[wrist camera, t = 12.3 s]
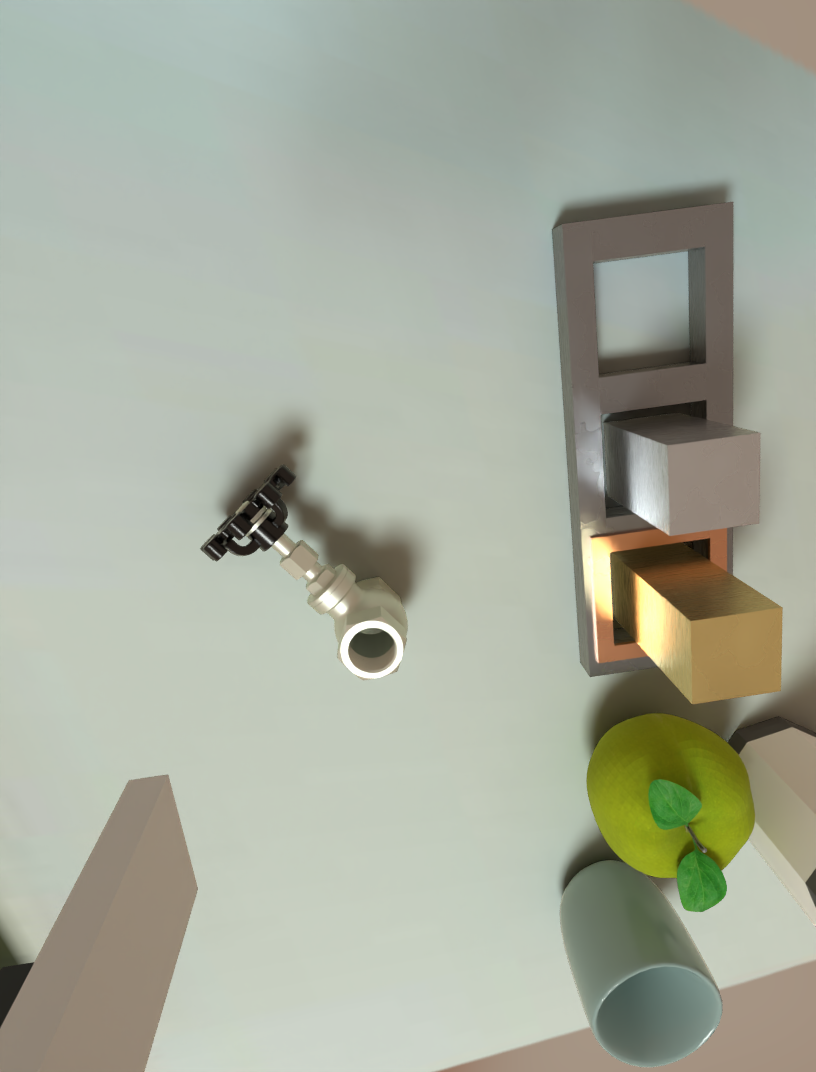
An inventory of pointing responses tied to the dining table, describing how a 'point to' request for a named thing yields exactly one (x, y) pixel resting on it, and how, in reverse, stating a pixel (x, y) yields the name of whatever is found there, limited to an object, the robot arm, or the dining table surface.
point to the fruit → (672, 802)
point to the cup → (636, 967)
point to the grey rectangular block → (684, 472)
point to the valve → (321, 582)
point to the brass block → (698, 622)
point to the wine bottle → (783, 802)
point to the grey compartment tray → (636, 398)
